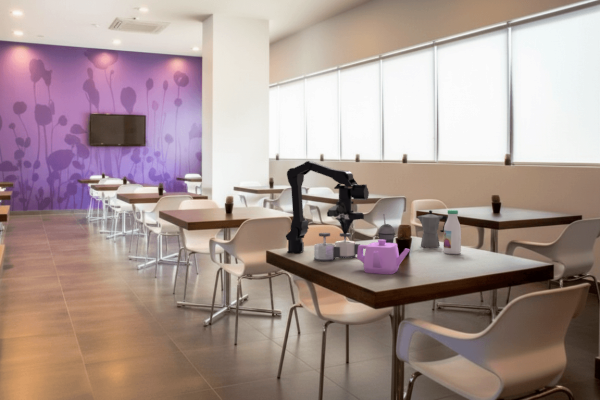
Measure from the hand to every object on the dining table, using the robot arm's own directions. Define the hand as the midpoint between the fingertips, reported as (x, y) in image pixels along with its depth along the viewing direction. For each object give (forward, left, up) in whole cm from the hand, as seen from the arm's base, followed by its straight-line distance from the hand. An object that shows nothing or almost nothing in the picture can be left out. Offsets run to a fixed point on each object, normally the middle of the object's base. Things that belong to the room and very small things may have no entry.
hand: (345, 233), depth 257 cm
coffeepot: (+36, +38, -10) cm, 53 cm away
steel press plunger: (-7, -10, -5) cm, 13 cm away
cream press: (+1, 0, -10) cm, 10 cm away
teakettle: (+21, -27, -11) cm, 36 cm away
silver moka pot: (-6, -10, -10) cm, 16 cm away
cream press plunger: (0, 0, -6) cm, 6 cm away
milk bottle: (+46, +21, -10) cm, 52 cm away
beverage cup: (+19, -3, -10) cm, 22 cm away
